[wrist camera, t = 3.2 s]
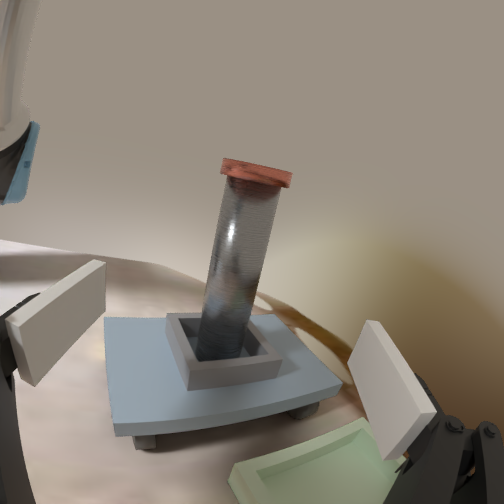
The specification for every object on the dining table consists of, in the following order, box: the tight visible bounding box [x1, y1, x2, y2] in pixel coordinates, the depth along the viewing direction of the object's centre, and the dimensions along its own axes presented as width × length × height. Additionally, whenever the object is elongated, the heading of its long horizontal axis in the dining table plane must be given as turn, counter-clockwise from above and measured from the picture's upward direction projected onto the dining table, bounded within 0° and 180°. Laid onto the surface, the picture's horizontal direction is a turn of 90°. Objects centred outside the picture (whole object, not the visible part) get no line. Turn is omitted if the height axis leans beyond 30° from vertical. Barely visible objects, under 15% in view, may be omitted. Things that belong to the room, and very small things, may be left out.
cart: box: [104, 313, 343, 450], centre depth 24 cm, size 15×18×7 cm
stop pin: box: [195, 158, 293, 362], centre depth 20 cm, size 5×5×15 cm
